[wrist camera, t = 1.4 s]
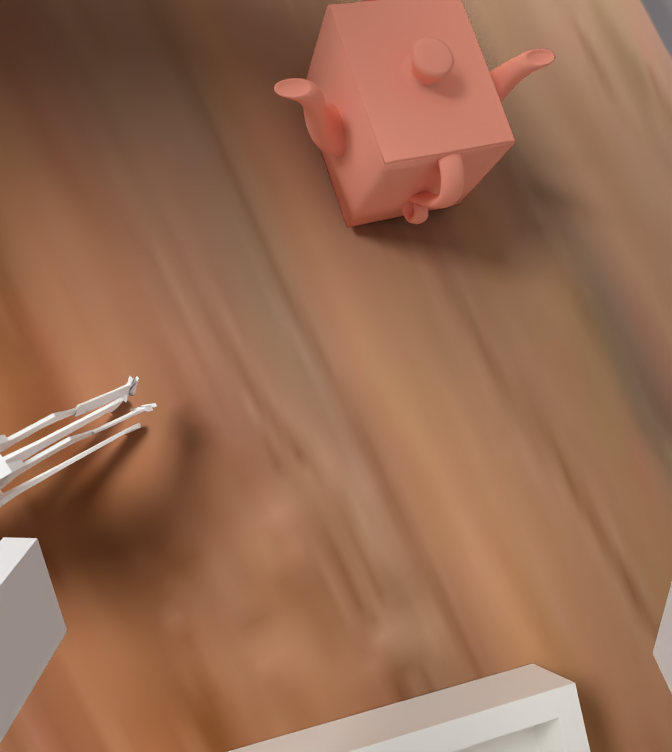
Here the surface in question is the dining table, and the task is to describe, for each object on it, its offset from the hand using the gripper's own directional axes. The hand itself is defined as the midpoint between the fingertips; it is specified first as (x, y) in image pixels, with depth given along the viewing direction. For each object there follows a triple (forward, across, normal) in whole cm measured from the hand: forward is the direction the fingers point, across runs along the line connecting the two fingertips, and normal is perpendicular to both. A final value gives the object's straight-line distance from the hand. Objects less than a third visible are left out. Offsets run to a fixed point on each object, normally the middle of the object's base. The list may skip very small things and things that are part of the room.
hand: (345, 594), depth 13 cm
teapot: (+28, 0, +6) cm, 29 cm away
